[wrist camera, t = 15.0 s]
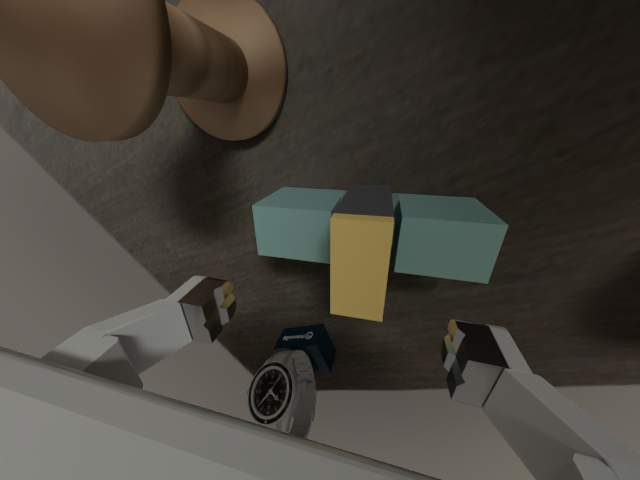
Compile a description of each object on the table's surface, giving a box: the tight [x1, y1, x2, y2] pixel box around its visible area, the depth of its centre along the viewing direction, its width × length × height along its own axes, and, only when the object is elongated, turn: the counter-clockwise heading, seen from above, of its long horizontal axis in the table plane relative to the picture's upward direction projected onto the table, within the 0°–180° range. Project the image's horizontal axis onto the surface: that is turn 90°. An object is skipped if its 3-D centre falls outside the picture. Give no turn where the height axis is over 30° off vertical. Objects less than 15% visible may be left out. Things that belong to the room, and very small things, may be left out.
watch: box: [247, 324, 336, 439], centre depth 25 cm, size 6×8×11 cm
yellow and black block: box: [330, 184, 394, 322], centre depth 16 cm, size 6×3×8 cm, turn 1°
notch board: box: [252, 187, 509, 284], centre depth 19 cm, size 4×16×6 cm, turn 90°
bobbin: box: [0, 0, 288, 142], centre depth 14 cm, size 10×10×12 cm
